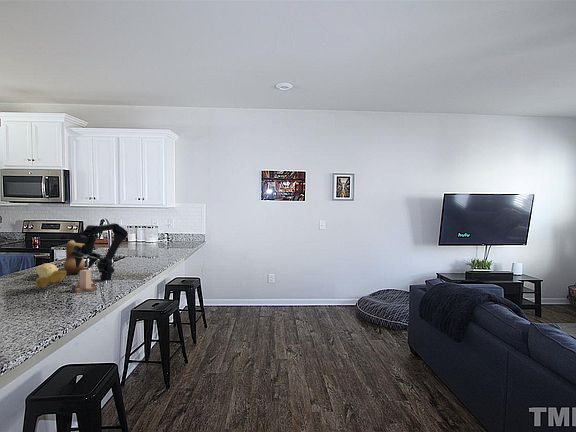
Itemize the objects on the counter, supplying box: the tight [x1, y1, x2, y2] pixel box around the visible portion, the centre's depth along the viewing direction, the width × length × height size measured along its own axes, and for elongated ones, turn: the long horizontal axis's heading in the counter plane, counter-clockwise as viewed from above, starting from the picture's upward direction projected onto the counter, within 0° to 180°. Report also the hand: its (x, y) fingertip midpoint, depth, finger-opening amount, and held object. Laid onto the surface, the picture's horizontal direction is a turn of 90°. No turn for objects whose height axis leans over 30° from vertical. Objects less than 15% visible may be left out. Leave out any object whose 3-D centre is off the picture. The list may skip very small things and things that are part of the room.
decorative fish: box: [35, 270, 68, 289], centre depth 237 cm, size 22×3×10 cm, turn 168°
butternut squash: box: [63, 239, 86, 275], centre depth 272 cm, size 14×13×25 cm
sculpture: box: [36, 262, 59, 278], centre depth 255 cm, size 11×12×11 cm
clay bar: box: [79, 268, 92, 289], centre depth 223 cm, size 4×4×12 cm
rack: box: [74, 280, 97, 296], centre depth 227 cm, size 11×21×3 cm, turn 29°
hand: (82, 267), depth 236 cm, fingers open, 9 cm apart
